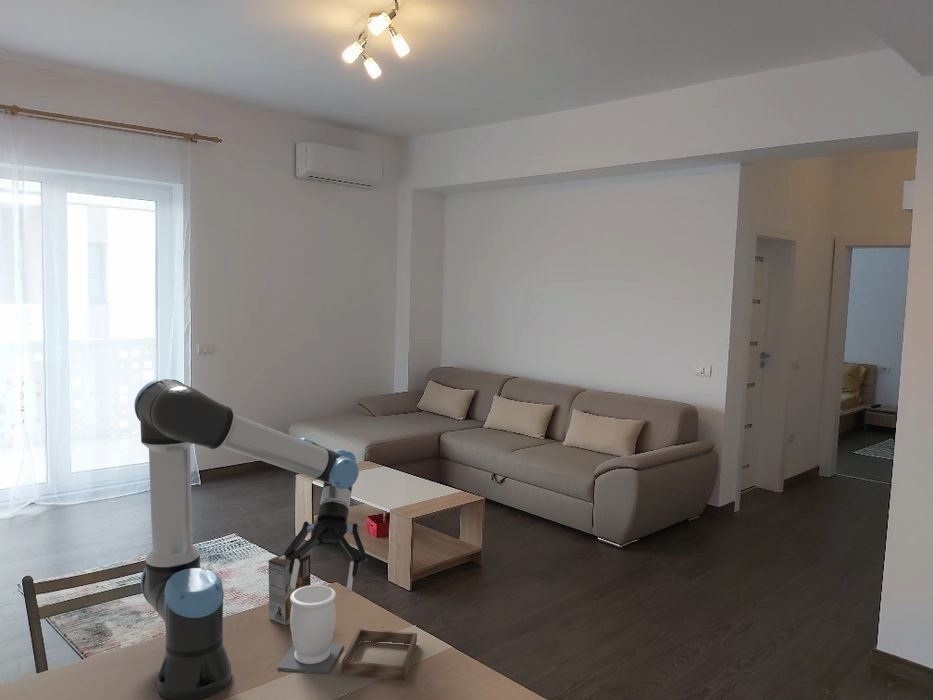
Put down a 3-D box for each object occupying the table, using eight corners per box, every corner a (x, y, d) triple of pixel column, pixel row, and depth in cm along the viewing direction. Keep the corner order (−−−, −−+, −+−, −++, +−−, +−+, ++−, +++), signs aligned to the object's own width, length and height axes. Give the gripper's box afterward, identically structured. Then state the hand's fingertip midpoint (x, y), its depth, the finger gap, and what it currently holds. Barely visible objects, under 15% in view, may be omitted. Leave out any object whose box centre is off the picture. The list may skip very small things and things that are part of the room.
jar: (324, 670, 159) (325, 607, 157) (281, 664, 161) (282, 601, 159) (341, 646, 169) (342, 587, 168) (301, 641, 171) (302, 581, 170)
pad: (277, 669, 160) (277, 667, 160) (295, 642, 172) (295, 640, 171) (329, 674, 159) (329, 671, 158) (343, 646, 170) (343, 644, 170)
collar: (341, 675, 158) (341, 662, 158) (358, 639, 174) (358, 628, 174) (405, 680, 157) (405, 667, 157) (416, 644, 173) (416, 633, 172)
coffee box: (293, 605, 191) (294, 548, 189) (311, 612, 187) (311, 554, 186) (267, 619, 183) (268, 559, 181) (285, 626, 179) (285, 565, 178)
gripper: (383, 515, 185) (374, 596, 171) (289, 511, 185) (272, 591, 172) (381, 502, 179) (371, 584, 165) (283, 498, 179) (265, 580, 166)
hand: (320, 588), depth 169 cm, fingers open, 13 cm apart
